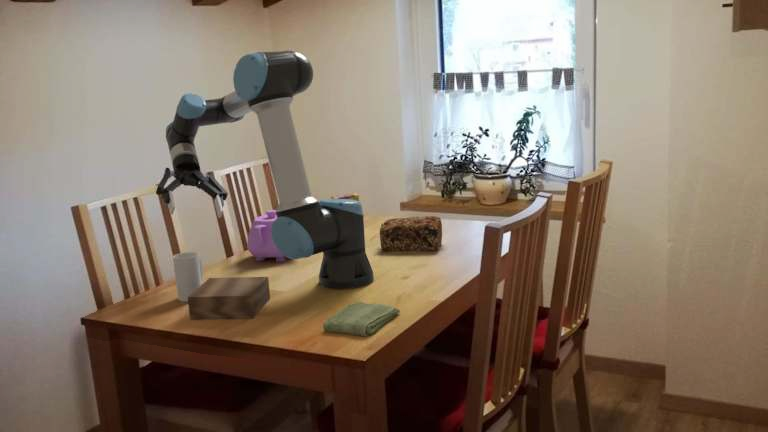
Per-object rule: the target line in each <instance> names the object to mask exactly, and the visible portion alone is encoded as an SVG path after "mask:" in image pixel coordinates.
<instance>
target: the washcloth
mask: <svg viewBox="0 0 768 432" xmlns="http://www.w3.org/2000/svg"><path fill="white" fill-rule="evenodd" d="M400 312H401V311H400V308H398V307H395V306H391V305H390V306H389V305H385V304H381V303H376V302H372V303H367V302H363V301H355V302H352V303H351V304H350V303H349V304H348V305H347V306H345V307H344V308H342V309H341V310H340V311H339V312H337V313H334V314H331V316H329V318H327V319H326V320H325V321H324V322H323V325H322V328H323V331H325V332H327V333H328V332H329V333H337V334H347V335H349V334H351V335H353V336H360V337H369V336H371V335H373V334H374V333H376V332H377V331H378V330H379V329H380V328H382V327H383V326H384V325H385V324H386V323H387V322H389V321H391V319H392V318H394V317H395V316H397V315H398V314H399V313H400Z"/></svg>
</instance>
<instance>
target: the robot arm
mask: <svg viewBox="0 0 768 432" xmlns="http://www.w3.org/2000/svg"><path fill="white" fill-rule="evenodd" d="M232 78H233V87H234V90H233V91H232V92H230V93H228V94H226V95H224V96H222V97H220V98H219V97H218V98H213V99H204V98H203V97H202V96H201V95H198V94H197V93H196V94H195V93H184V94H183V95H182V96H181V97H180V100H179V101H178V104H177V106H176V111H175V115H174V117H173V121H171V122H170V123H169V124H168V125H167V126H166V129H165V139H166V142H167V146H168V149H169V155H170V160H171V164H172V169H173V170H171V168H170V167H165V169H164V173H163V177H162V179H161V180H160V181H159V184H158V185H157V188H156V191H155V194H156V195H157V196H160V195H161V199H163V201H164V204H167V205H168V211H169V214H170V215H174V212H175V209H176V204H175V199H174V194H173V192H174V191H175V190H176V189H177V188H179V187H180V186H181V185H183V186H189V187H190V186H191V187H196V188H197V189H199V190H202V191H203V192H204V193H206V194H208V196H210V197H211V198H212V199H214V202H213V203H214V206H215V207H214V208H215V211H216V214H217V218H218V219H221V218H222V216H223V213H224V206H225V202H224V201H226V200H227V199H228V198H227V197H228V195H229V192H227V190H226V189H225V188H224V187H223V186H222V184H221V183H220V182H218V180H217V179H216V178H215V177H214V175H213V173H212V172H211V171H208V173H205V174H204V173H203V172H202V171H201V165H200V161H199V158H198V155H197V150H196V145H195V138H196V135H197V132H198V130H199V129H200V127H205V126H212V125H213V126H214V125H220V124H228V123H229V124H230V123H231V124H232V123H236V122H239V121H242V120H243V119H244V117H245V115H247V114H249V113H251V112H253V113H255V114H256V116H257V119H258V123H259V124H258V125H259V127H260V132H261V135H262V139H263V144H264V147H265V151H266V154H267V160H268V163H269V167H270V170H271V175H272V178H273V183H274V187H275V191H276V195H277V199H278V206H277V209H275V210H276V216H277V219H276V220H275V221H274V222H273V224H272V227H273V228H272V229H271V234H272V239H273V241H274V244H275V246H276V247H277V249H278V250H279V251H280V252H281V253H282V254H283V255H284V257H285V258H287V259H290V260H300V259H306V258H310V257H311V256H315V255H317V254H320V253H323V254H322V255H323V256H322V260H321V264H320V268H319V272H318V283H319V285H320V286H321V287H323V288H326V289H333V290H347V289H355V288H360V287H364V286H367V285H369V284H371V283H372V282H373V281H374V279H375V278H374V271H373V267H372V266H371V263H370V260H369V258H368V255H367V253H366V242H365V239H366V238H365V226H364V225H365V222H364V221H365V220H364V218H365V216H364V214H363V205H362V203H361V202H360V200H359V201H356V200H350V199H331V198H325V199H321V200H318V199H317V198H315V197H314V196H313V195H312V192H311V188H310V184H309V180H308V177H307V176H308V175H307V173H306V168H305V164H304V160H303V156H302V152H301V148H300V145H299V139H298V136H297V133H296V128H295V124H294V121H293V119H294V118H293V116H292V112H291V108H290V106H291V104H292V102H293V101H294V96H297V95H299V94H302V93H303V92H305V91H306V90H307V89H309V87H310V86H311V84H312V82H313V80H314V79H313V78H314V69H313V66H312V64H311V62H310V60H309V59H308V58H307V57H306V56H305V55H303V54H302V53H300V52H297V51H293V50H282V51H257V52H253V53H248V54H245V55H242V56H241V57H240V58H239V59H238V61H237V63H236V65H235V68H234V71H233V77H232ZM172 176H173V178H174V180H172V182H170V183H169V184H168V185H166V184H167V182H168V180H169V179H170V178H172ZM165 186H166V187H165Z"/></svg>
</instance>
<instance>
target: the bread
mask: <svg viewBox="0 0 768 432" xmlns="http://www.w3.org/2000/svg"><path fill="white" fill-rule="evenodd" d="M441 219H442V218H440V217H439V216H435V215H429V216H428V215H425V216H411V217H399V218H389V219H387V220H384V222H382V223H381V225H380V227H379V240H380V248H381V250H382V252H383V253H384V252H386V253H387V252H388V253H389V252H393V253H394V252H396V253H397V252H398V253H400V252H401V253H403V252H410V253H411V252H412V253H413V252H433V251H438V250H439V249H440V248H441V247H440V246H442V242H443V240H442V238H443V223H442V220H441Z"/></svg>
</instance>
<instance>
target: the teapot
mask: <svg viewBox="0 0 768 432" xmlns="http://www.w3.org/2000/svg"><path fill="white" fill-rule="evenodd" d="M276 210H277V209H268V210H266V211H265V214H263V215H260V216H257V217H256V218H254V220H253V221H252V223H251V226H250V229H249V231H248V236H247V243H246V245H247V250H248V252H249V253H250V254H251V255H252V256H253V257H255V260H254V261H255V262H262V261H265V260H266V258H275V260H276V262H277V263H282V262H286V261H287V259H286V256H284V255H283V254H282V253H281V252H280V251H279V250H278V249H277V247H276V246H275V244H274V241H273V239H272V234H271V229H272V228H273V227H272V224H273V222H274V221H275V220H276V219H277V216H276Z"/></svg>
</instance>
